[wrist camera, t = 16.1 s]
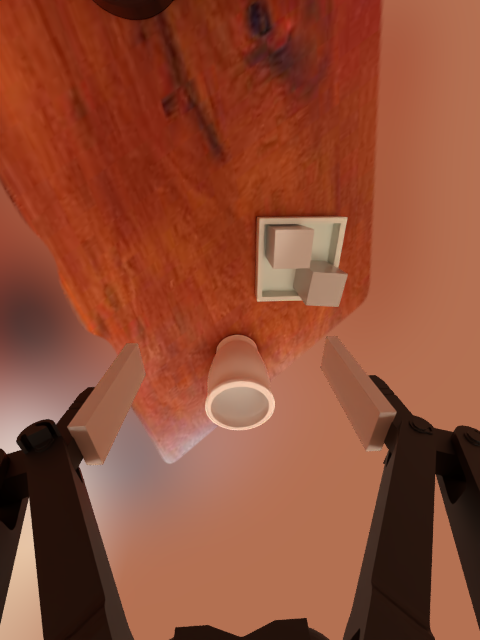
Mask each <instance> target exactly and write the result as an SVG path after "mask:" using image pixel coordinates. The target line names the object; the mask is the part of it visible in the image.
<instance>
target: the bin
mask: <svg viewBox="0 0 480 640" xmlns="http://www.w3.org/2000/svg"><path fill="white" fill-rule="evenodd" d="M346 223H347V217H342V216H291V217H257V227H256V274H255V296H256V299H257V301H297V300H302V299H301V298H300V296H299V295H298V294H297V292H296V291H295V290H294V288H293V283H294V278H295V272H296V269H273V268H272V266H271V265H270V263H269V261H268V260H267V258H266V257H265V251H266V226H267V224H300V225H303V226H306V227H309V228H311V229H314V237H313V245H312V253H311V260H319V261H327V262H329V263H331V264H332V265H334V266H336V267H337V268H338V266H339V261H340V255H341V250H342V244H343V239H344V233H345V228H346Z"/></svg>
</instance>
